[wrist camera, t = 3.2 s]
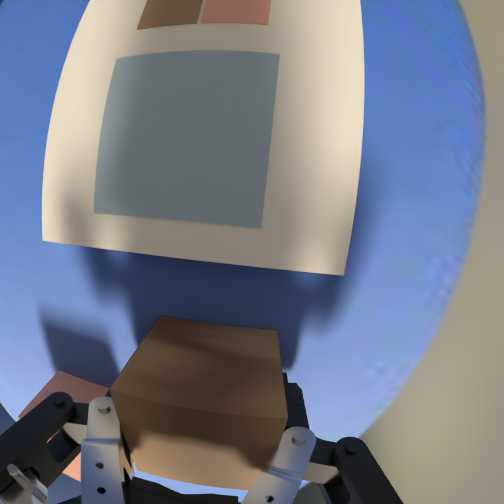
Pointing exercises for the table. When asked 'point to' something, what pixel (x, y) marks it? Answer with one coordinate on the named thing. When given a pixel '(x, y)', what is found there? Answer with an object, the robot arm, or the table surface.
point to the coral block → (80, 393)
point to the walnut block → (203, 402)
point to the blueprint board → (210, 132)
